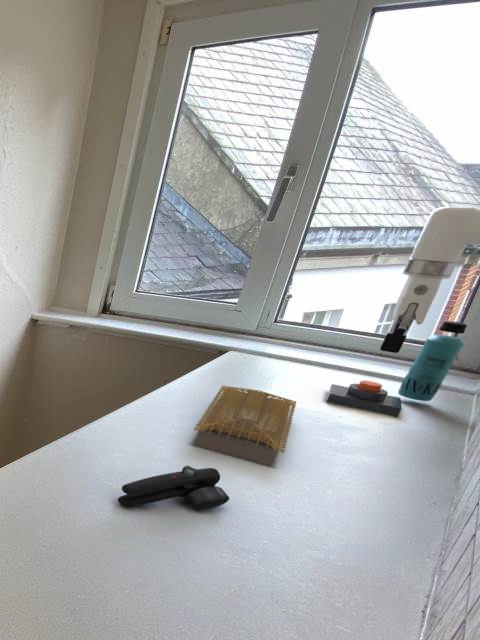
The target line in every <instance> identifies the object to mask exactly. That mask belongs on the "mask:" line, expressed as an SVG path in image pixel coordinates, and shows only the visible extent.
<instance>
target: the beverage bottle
mask: <svg viewBox="0 0 480 640" xmlns="http://www.w3.org/2000/svg"><path fill="white" fill-rule="evenodd" d="M467 327H468V325H467V324H466V323H463V322H458V321H450V320H449V321H448V320H446V321H443V323H442V324H441V325H440V327H439V328H438V330H439V331H441V332H446V333H452V334H464V333H465V331H466V329H467ZM463 347H464V342H463V340H462V339H461V338H460V337H457V336H452V335H445V334H434V335H431V336H429V337H427V338H426V339H425V342H424V344H423V346H422V348H421V349H420V351H419V353H418V355H417V357H416V358H415V359H414V361H413V364H411V366H410V368H409V369H408V372H407V373H406V375H405V377H404V379H403V380H402V382H401V384H400V386H399V388H398V389H397V390H398V392H397V394H398V395H399V396H401V397H404V398H407V399H410V400H416V401H421V402H430V401H432V400H433V399H434V398H435V396H436V394H437V393H438V391H439V389H440V387H441V386H442V384H443V381H444V380H445V379H446V377H447V375H448V373H449V371H450V370H451V368H452V367H453V363H454V362H455V360H456V358H457V357H458V355H459V353H460V351H461V350H462V348H463Z"/></svg>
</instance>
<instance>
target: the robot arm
mask: <svg viewBox="0 0 480 640" xmlns="http://www.w3.org/2000/svg"><path fill="white" fill-rule="evenodd" d="M467 245H472V246H479V247H480V209H478V208H474V207H464V206H463V207H461V206H459V207H458V206H442V207H438V208H436V209H434V210H432V211H431V213H430V214H429V217H428V218H427V220H426V223H425V225H424V227H423V229H422V230H421V233H420V235H419V237H418V240H417V241H416V244H415V246H414V248H413V250H412V252H411V254H410V257H409V259H408V261H407V263H406V265H405V267H404V270H403V272H402V275H406V276H408V277H407V278H406V281H405V283H404V285H403V287H402V290H401V291H400V294H399V296H398V299H397V301H396V304H395V306H394V309H393V311H392V315H391V316H392V320H393V323H392V324H391V326H390V329H389V331H388V332H387V333H386V335H385V337H384V339H383V342H382V344H381V346H380V347H379V349H380V351H381V352H386V353H394V354H398V353H399V352H400V351H401V349H402V347H403V345H404V343H405V341H406V338H407V334H408V333H409V331H410V328H411V327H412V325H413V323H414V321H415V323H416V324H417V325H418V326H420V325H422V324H423V323H424V321H425V319H426V317H427V315H428V313H429V310H430V309H431V306H432V304H433V302H434V300H435V298H436V296H437V293H438V292H439V289H440V286H441V284H442V281H443V280H446V279H448V280H449V279H450V278H451V277H452V275H453V273H454V270H455V269H456V267H457V265H458V262H459V261H460V258H461V257H462V255H463V253H464V251H465V249H466V246H467Z"/></svg>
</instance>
